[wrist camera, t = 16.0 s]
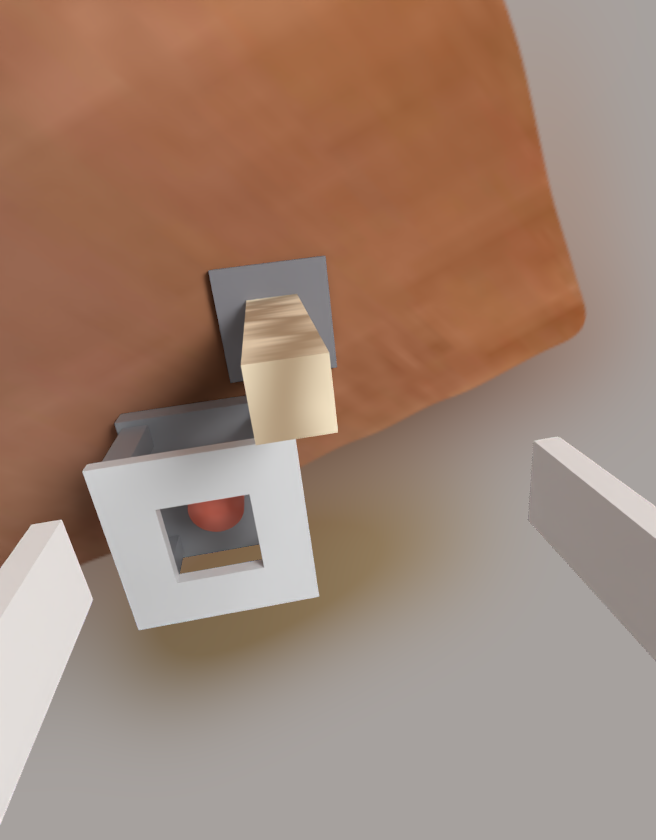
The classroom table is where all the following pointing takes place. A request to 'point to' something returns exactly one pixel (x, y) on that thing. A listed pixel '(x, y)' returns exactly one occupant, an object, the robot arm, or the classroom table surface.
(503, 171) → the classroom table surface
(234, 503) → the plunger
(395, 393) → the classroom table surface
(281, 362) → the light wooden bar
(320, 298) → the pad
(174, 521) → the grey open box frame
